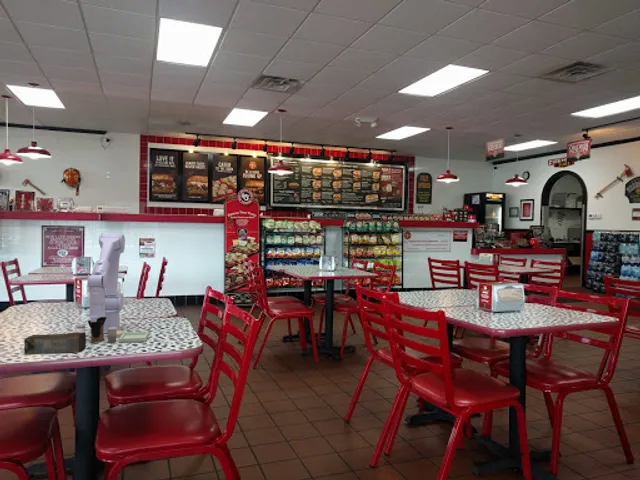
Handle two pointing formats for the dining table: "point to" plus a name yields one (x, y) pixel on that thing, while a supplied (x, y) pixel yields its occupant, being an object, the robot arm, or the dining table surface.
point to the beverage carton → (55, 343)
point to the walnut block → (99, 335)
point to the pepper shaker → (112, 334)
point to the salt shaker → (80, 328)
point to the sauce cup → (119, 333)
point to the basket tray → (133, 337)
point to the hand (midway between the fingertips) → (97, 336)
